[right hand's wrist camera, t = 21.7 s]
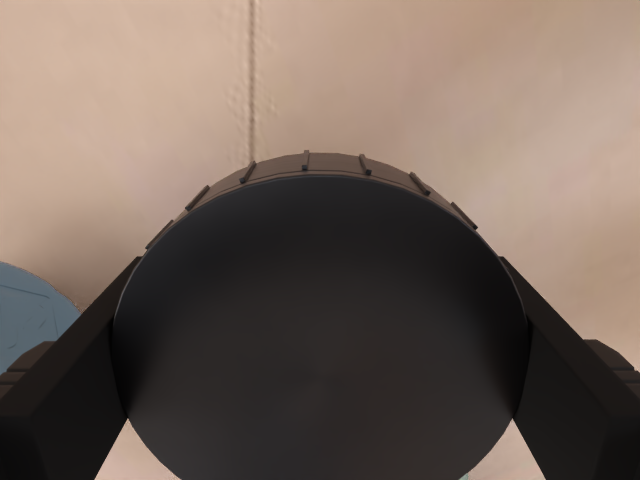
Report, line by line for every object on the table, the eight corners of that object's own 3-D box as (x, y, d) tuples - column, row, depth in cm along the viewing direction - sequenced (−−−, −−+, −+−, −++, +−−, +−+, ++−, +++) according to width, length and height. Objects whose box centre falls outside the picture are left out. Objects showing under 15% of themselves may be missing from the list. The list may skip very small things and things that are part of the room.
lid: (229, 73, 10) (204, 75, 8) (569, 255, 12) (626, 298, 9) (99, 382, 13) (55, 446, 11) (382, 493, 15) (393, 567, 12)
